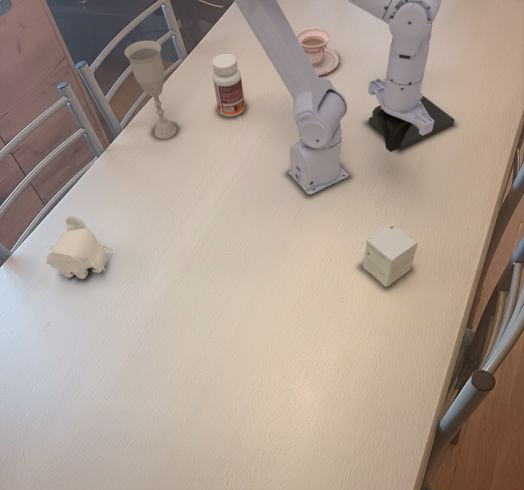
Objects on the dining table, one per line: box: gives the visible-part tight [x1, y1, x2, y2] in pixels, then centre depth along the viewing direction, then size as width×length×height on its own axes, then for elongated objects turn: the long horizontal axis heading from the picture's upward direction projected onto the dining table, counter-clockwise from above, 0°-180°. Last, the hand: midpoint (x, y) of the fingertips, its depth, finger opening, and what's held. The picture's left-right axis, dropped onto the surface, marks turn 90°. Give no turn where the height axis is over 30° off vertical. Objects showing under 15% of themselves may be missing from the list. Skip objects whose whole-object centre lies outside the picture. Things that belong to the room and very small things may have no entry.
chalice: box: [124, 40, 178, 139], centre depth 105 cm, size 7×7×18 cm
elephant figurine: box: [45, 215, 116, 280], centre depth 90 cm, size 10×12×9 cm
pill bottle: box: [212, 53, 245, 118], centre depth 110 cm, size 6×6×11 cm
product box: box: [362, 222, 419, 288], centre depth 85 cm, size 6×6×7 cm
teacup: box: [296, 26, 340, 77], centre depth 119 cm, size 12×12×6 cm
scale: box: [368, 95, 455, 151], centre depth 106 cm, size 14×11×3 cm
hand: (392, 148), depth 90 cm, fingers closed
